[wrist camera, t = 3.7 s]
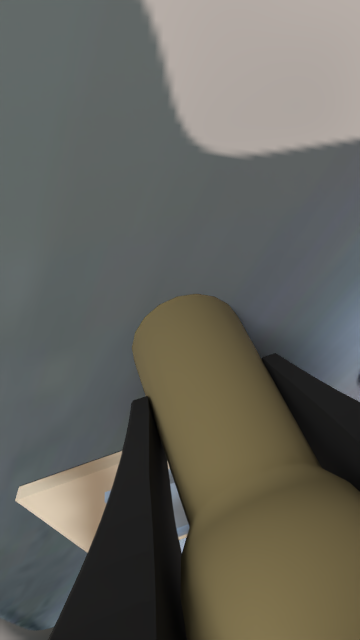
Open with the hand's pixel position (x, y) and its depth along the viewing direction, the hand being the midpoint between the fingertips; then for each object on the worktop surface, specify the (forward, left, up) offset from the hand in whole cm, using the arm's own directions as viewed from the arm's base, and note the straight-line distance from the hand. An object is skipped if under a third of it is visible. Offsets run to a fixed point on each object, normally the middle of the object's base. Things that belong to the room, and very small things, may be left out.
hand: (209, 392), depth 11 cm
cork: (0, 0, -4) cm, 4 cm away
